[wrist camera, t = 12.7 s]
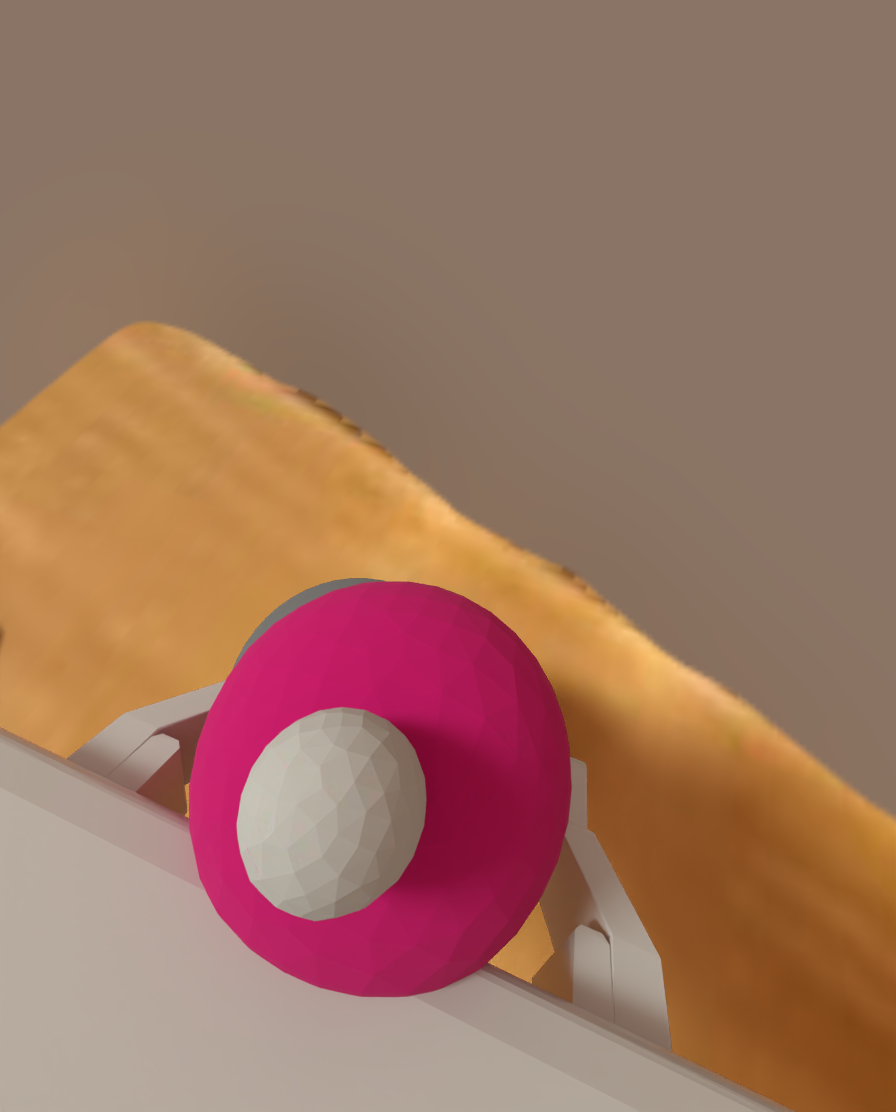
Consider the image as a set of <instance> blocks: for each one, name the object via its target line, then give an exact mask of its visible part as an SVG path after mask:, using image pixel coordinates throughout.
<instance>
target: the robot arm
mask: <svg viewBox="0 0 896 1112" xmlns="http://www.w3.org/2000/svg"><path fill="white" fill-rule="evenodd" d="M224 683H225V681H223V682H219V683H216V684H213V685H210V686H207V687H204V688H201V689H198V690H195V691H192V692H189V693H186V694H182V695H179V696H176V697H173V698H170V699H167V700H164V701H161V702H158V703H155V704H152V705H148V706H145V707H142V708H139V709H136V710H133V711H130V712H127V713H124V714H123V715H121V716H120V717H119V718H118V719H116V720H115V721H114V722H113V723H111V724H110V725H109V726H107V727H106V728H105V729H104V730H102V731H101V732H100V733H99V734H97V735H96V736H95V737H94V738H92V739H91V740H90V741H89V742H87V743H86V744H85V745H83V746H82V747H81V748H80V749H78V750H77V751H76V752H75V753H73V754H72V755H71V756H70V757H68V758H67V759H65V758H63V757H61V756H59V755H57V754H55V753H53V752H51V751H49V750H47V749H45V748H43V747H40V746H38V745H36V744H34V743H32V742H30V741H28V740H26V739H24V738H22V737H20V736H18V735H16V734H14V733H11V732H9V731H7V730H5V729H3V728H1V727H0V1112H796V1111H794V1110H792V1109H790V1108H787V1107H785V1106H783V1105H781V1104H779V1103H777V1102H775V1101H773V1100H771V1099H769V1098H767V1097H765V1096H763V1095H761V1094H758V1093H756V1092H754V1091H752V1090H750V1089H748V1088H746V1087H744V1086H742V1085H740V1084H738V1083H736V1082H734V1081H732V1080H729V1079H727V1078H725V1077H723V1076H721V1075H719V1074H717V1073H715V1072H713V1071H711V1070H709V1069H707V1068H705V1067H703V1066H700V1065H698V1064H696V1063H694V1062H692V1061H690V1060H688V1059H686V1058H684V1057H682V1056H680V1055H678V1054H676V1053H674V1052H672V1044H671V1036H670V1028H669V1020H668V1012H667V1004H666V996H665V988H664V980H663V972H662V964H661V958H660V956H659V954H658V952H657V951H656V949H655V947H654V945H653V943H652V941H651V939H650V937H649V935H648V934H647V932H646V930H645V928H644V926H643V924H642V922H641V920H640V918H639V916H638V915H637V913H636V911H635V909H634V907H633V905H632V903H631V901H630V899H629V898H628V896H627V894H626V892H625V890H624V888H623V886H622V884H621V882H620V880H619V879H618V877H617V875H616V873H615V871H614V869H613V867H612V865H611V863H610V862H609V860H608V858H607V856H606V854H605V852H604V850H603V848H602V846H601V844H600V843H599V841H598V839H597V837H596V835H595V833H594V832H592V831H590V830H588V824H587V766H586V764H585V762H583V761H580V760H578V759H575V758H573V757H570V762H571V781H572V791H571V801H570V811H569V821H568V825H567V829H566V833H565V837H564V841H563V844H562V848H561V852H560V856H559V860H558V863H557V865H556V867H555V869H554V872H553V874H552V876H551V878H550V880H549V882H548V884H547V887H546V889H545V891H544V893H543V895H542V897H541V899H540V900H539V902H540V905H541V908H542V911H543V915H544V918H545V921H546V924H547V928H548V931H549V934H550V937H551V941H552V944H553V947H554V950H555V953H554V954H553V955H552V956H551V957H550V958H549V959H548V961H547V962H546V963H545V964H544V965H543V966H542V967H541V969H540V970H539V971H538V972H537V973H536V974H535V975H534V977H533V978H532V984H531V983H529V982H527V981H524V980H522V979H520V978H518V977H516V976H514V975H512V974H510V973H508V972H506V971H504V970H502V969H500V968H498V967H496V966H494V965H491V964H489V963H487V964H486V965H485V966H484V967H483V968H481V969H480V970H478V971H476V972H474V973H473V974H471V975H469V976H467V977H465V978H463V979H461V980H459V981H456V982H454V983H452V984H450V985H448V986H446V987H444V988H441V989H439V990H436V991H433V992H428V993H423V994H418V995H413V996H408V997H359V996H354V995H348V994H344V993H340V992H335V991H331V990H327V989H322V988H319V987H316V986H314V985H311V984H309V983H306V982H304V981H302V980H300V979H298V978H295V977H293V976H291V975H289V974H287V973H284V972H283V971H281V970H280V969H278V968H277V967H275V966H274V965H272V964H271V963H269V962H268V961H266V960H265V959H263V958H262V957H260V956H259V955H257V954H256V953H255V952H253V951H252V950H251V949H249V948H248V947H247V946H246V945H245V944H244V943H243V942H242V940H241V939H240V938H239V937H238V936H237V935H236V934H235V933H234V932H233V931H232V929H231V928H230V927H229V926H228V925H227V924H226V923H225V922H224V921H223V920H222V919H221V917H220V916H219V915H218V914H217V912H216V910H215V908H214V906H213V904H212V902H211V900H210V899H209V897H208V895H207V892H206V890H205V888H204V886H203V884H202V882H201V880H200V878H199V873H198V869H197V864H196V859H195V854H194V850H193V845H192V840H191V835H190V830H189V818H187V817H185V816H184V815H185V814H186V813H187V800H186V793H185V785H186V784H188V783H189V782H190V779H191V774H192V769H193V763H194V758H195V753H196V748H197V743H198V740H199V738H200V735H201V732H202V729H203V727H204V724H205V721H206V718H207V716H208V713H209V710H210V708H211V706H212V705H213V703H214V701H215V699H216V697H217V695H218V694H219V692H220V690H221V688H222V686H223V684H224Z"/></svg>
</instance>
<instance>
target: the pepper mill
mask: <svg viewBox="0 0 896 1112" xmlns="http://www.w3.org/2000/svg"><path fill="white" fill-rule="evenodd" d="M571 791H572V781H571V762H570V748H569V742H568V737H567V731H566V727H565V722H564V718H563V715H562V712H561V709H560V707H559V704H558V701H557V699H556V696H555V693H554V691H553V688H552V685H551V684H550V682H549V680H548V678H547V676H546V675H545V673H544V671H543V669H542V668H541V666H540V664H539V662H538V661H537V659H536V658H535V656H534V655H533V654H532V653H531V651H530V650H529V649H528V648H527V647H526V645H525V644H524V643H523V642H522V640H521V639H520V638H519V637H518V636H517V634H516V633H515V632H514V631H513V630H511V629H510V628H509V627H508V626H507V625H506V624H504V623H503V622H502V621H501V620H500V619H498V618H497V617H496V616H495V615H494V614H493V613H491V612H490V611H488V610H487V609H485V608H483V607H481V606H480V605H478V604H476V603H474V602H473V601H471V600H469V599H467V598H466V597H464V596H461V595H459V594H456V593H453V592H451V591H448V590H445V589H443V588H440V587H437V586H431V585H425V584H419V583H414V582H367V583H361V584H357V585H353V586H349V587H345V588H341V589H337V590H333V591H331V592H329V593H327V594H325V595H323V596H321V597H318V598H316V599H314V600H312V601H310V602H308V603H306V604H304V605H302V606H300V607H299V608H297V609H296V610H294V611H293V612H291V613H289V614H288V615H286V616H285V617H283V618H282V619H280V620H279V621H277V622H276V623H274V624H273V625H272V626H271V627H270V628H269V629H268V630H267V631H266V632H265V633H264V634H263V635H262V636H260V637H259V638H258V639H257V640H256V641H255V642H254V643H253V644H252V645H251V646H250V647H249V648H248V649H247V651H246V652H245V653H244V655H243V656H242V658H241V659H240V660H239V662H238V663H237V665H236V666H235V667H234V669H233V670H232V672H231V673H230V675H229V676H228V677H227V679H226V681H225V683H224V684H223V686H222V688H221V690H220V692H219V694H218V695H217V697H216V699H215V701H214V703H213V705H212V706H211V708H210V710H209V713H208V716H207V718H206V721H205V724H204V727H203V729H202V732H201V735H200V738H199V740H198V743H197V748H196V753H195V758H194V763H193V769H192V774H191V779H190V784H189V830H190V835H191V840H192V845H193V850H194V854H195V859H196V864H197V869H198V873H199V878H200V880H201V882H202V884H203V886H204V888H205V890H206V892H207V895H208V897H209V899H210V900H211V902H212V904H213V906H214V908H215V910H216V912H217V914H218V915H219V916H220V917H221V919H222V920H223V921H224V922H225V923H226V924H227V925H228V926H229V927H230V928H231V929H232V931H233V932H234V933H235V934H236V935H237V936H238V937H239V938H240V939H241V940H242V942H243V943H244V944H245V945H246V946H247V947H248V948H249V949H251V950H252V951H253V952H255V953H256V954H257V955H259V956H260V957H262V958H263V959H265V960H266V961H268V962H269V963H271V964H272V965H274V966H275V967H277V968H278V969H280V970H281V971H283V972H284V973H287V974H289V975H291V976H293V977H295V978H298V979H300V980H302V981H304V982H306V983H309V984H311V985H314V986H316V987H319V988H322V989H327V990H331V991H335V992H340V993H344V994H348V995H354V996H359V997H408V996H413V995H418V994H423V993H428V992H433V991H436V990H439V989H441V988H444V987H446V986H448V985H450V984H452V983H454V982H456V981H459V980H461V979H463V978H465V977H467V976H469V975H471V974H473V973H474V972H476V971H478V970H480V969H481V968H483V967H484V966H485V965H486V964H487V963H488V962H489V961H490V960H491V959H492V958H493V957H494V956H495V955H496V954H497V953H498V952H499V951H500V950H501V949H502V948H503V947H504V946H505V945H506V944H507V943H508V942H509V941H510V940H511V939H512V938H513V937H514V936H515V935H516V934H517V933H518V931H519V930H520V928H521V927H522V925H523V924H524V922H525V921H526V919H527V918H528V916H529V915H530V913H531V912H532V910H533V909H534V907H535V906H536V904H537V903H538V902H539V900H540V899H541V897H542V895H543V893H544V891H545V889H546V887H547V884H548V882H549V880H550V878H551V876H552V874H553V872H554V869H555V867H556V865H557V863H558V860H559V856H560V852H561V848H562V844H563V841H564V837H565V833H566V829H567V825H568V821H569V811H570V801H571Z"/></svg>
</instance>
